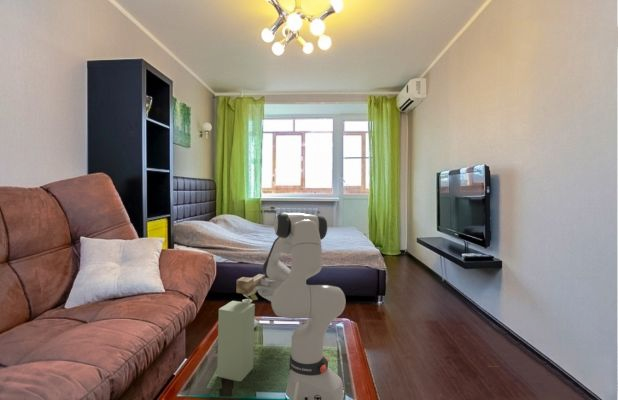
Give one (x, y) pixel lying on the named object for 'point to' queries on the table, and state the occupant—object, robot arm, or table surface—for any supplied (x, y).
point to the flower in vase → (251, 301)
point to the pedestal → (235, 340)
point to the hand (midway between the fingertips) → (256, 280)
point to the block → (248, 284)
